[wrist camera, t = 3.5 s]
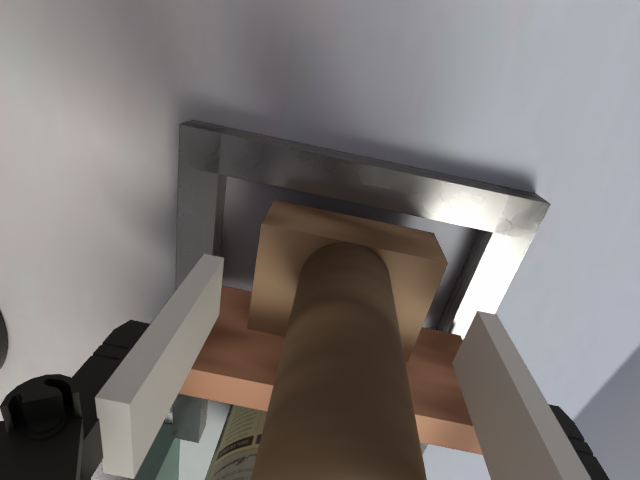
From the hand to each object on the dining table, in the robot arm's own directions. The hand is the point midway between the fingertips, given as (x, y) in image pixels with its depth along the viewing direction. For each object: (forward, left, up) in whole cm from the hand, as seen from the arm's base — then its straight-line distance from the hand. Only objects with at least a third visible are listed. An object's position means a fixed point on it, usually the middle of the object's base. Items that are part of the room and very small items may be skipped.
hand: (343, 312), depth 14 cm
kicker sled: (0, -2, -5) cm, 5 cm away
